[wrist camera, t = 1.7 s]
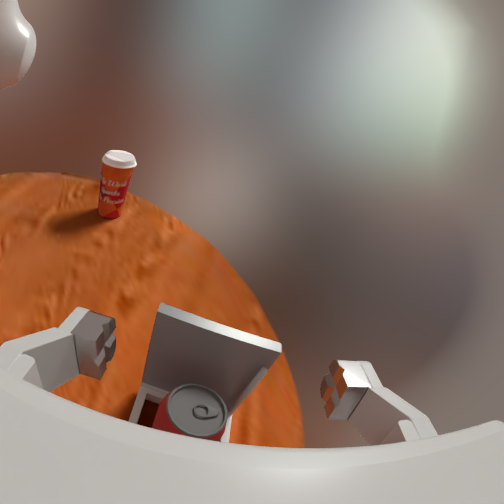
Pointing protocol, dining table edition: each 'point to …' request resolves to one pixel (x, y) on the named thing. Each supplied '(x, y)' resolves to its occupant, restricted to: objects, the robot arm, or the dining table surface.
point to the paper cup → (114, 182)
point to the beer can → (192, 412)
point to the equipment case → (202, 360)
